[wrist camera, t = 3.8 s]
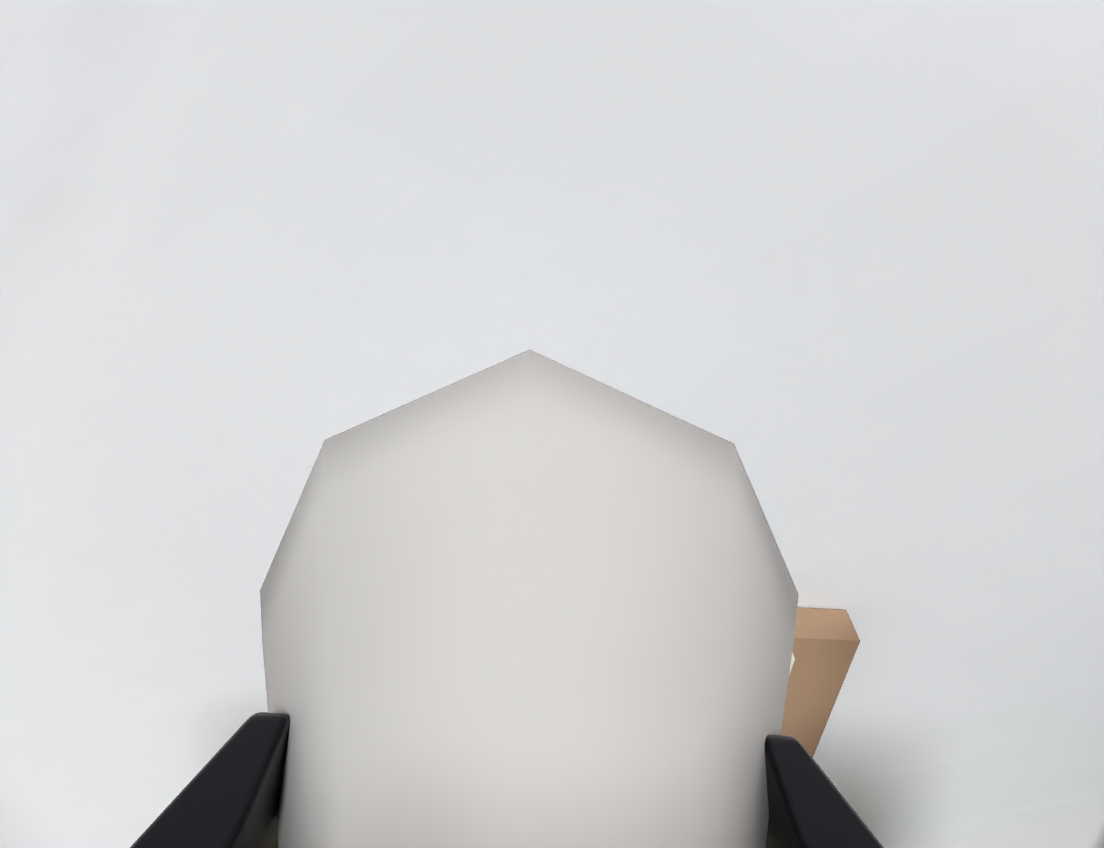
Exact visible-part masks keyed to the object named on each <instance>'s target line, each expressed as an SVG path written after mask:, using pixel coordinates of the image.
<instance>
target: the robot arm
mask: <svg viewBox="0 0 1104 848" xmlns="http://www.w3.org/2000/svg"><path fill="white" fill-rule="evenodd" d="M289 725H290V716H289V714H286V713H265V712H260V713H256V714H254V715H252V716H251V717H250V718H249V719H248V720H247V721H246V722H245V723H244V724H243V725H242V726H241V727H240V728H239V729H238V730H237V731H236V733H235V734H234V735H233V736H232V737H231V738H230V739H229V740H228V741H227V742H226V743H225V745H224V746H223V747H222V748H221V749H220V750H219V751H218V752H217V753H216V754H215V755H214V757H213V758H212V759H211V760H210V761H209V762H208V763H207V764H206V765H205V766H204V767H203V769H202V770H201V771H200V772H199V773H198V774H197V775H196V776H195V777H194V778H193V780H192V781H191V782H190V783H189V784H188V785H187V786H186V787H185V788H184V789H183V790H182V792H181V793H180V794H179V795H178V796H177V797H176V798H175V799H174V800H173V801H172V802H171V804H170V805H169V806H168V807H167V808H166V809H165V810H164V811H163V812H162V813H161V814H160V816H159V817H158V818H157V819H156V820H155V821H154V822H153V823H152V824H151V825H150V826H149V828H148V829H147V830H146V831H145V832H144V833H143V834H142V835H141V836H140V837H139V838H138V840H137V841H136V842H135V843H134V844H133V845H132V846H131V847H130V848H278V824H277V812H278V805H279V798H280V790H281V783H282V776H283V768H284V761H285V754H286V747H287V739H288V732H289ZM765 764H766V779H767V794H768V808H769V820H768V830H767V840H766V848H883V846H882V845H881V844H880V843H879V841H878V840H877V839H876V838H875V836H874V835H873V834H872V833H871V831H870V830H869V829H868V827H867V826H866V825H865V824H864V822H863V821H862V820H861V819H860V817H859V816H858V815H857V814H856V812H855V811H854V810H853V809H852V807H851V806H850V805H849V804H848V802H847V801H846V800H845V799H844V797H843V796H842V795H841V793H840V792H839V791H838V790H837V788H836V787H835V786H834V785H833V783H832V782H831V781H830V780H829V778H828V777H827V776H826V775H825V773H824V772H823V771H822V770H821V768H820V767H819V766H818V765H817V763H816V762H815V761H814V759H813V758H812V757H811V756H810V754H809V753H808V752H807V751H806V749H805V748H804V747H803V746H802V744H801V743H800V742H799V741H798V740H797V739H795V738H794V737H792V736H788V735H767V737H766V739H765Z"/></svg>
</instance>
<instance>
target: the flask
mask: <svg viewBox="0 0 1104 848" xmlns="http://www.w3.org/2000/svg"><path fill="white" fill-rule="evenodd" d="M260 597H261V622H262V644H263V655H264V667H265V679H266V690H267V702H268V713H286V714H289V716H290V725H289V732H288V739H287V747H286V754H285V761H284V768H283V776H282V783H281V790H280V798H279V805H278V812H277V824H278V848H766V840H767V830H768V820H769V808H768V794H767V779H766V764H765V739H766V737H767V735H780V734H781V727H782V721H783V714H784V707H785V700H786V693H787V686H788V679H789V672H790V665H791V658H792V651H793V643H794V633H795V623H796V613H797V603H798V592H797V590H796V588H795V585H794V583H793V581H792V578H791V576H790V574H789V571H788V569H787V567H786V564H785V562H784V560H783V557H782V555H781V553H780V550H779V548H778V546H777V543H776V541H775V539H774V536H773V534H772V532H771V529H770V527H769V525H768V522H767V520H766V518H765V515H764V513H763V511H762V508H761V506H760V503H759V501H758V499H757V496H756V494H755V492H754V489H753V487H752V485H751V482H750V480H749V478H748V475H747V473H746V471H745V468H744V466H743V464H742V461H741V459H740V457H739V454H738V452H737V450H736V447H735V445H734V444H733V443H731V442H729V441H727V440H725V439H723V438H720V437H718V436H716V435H714V434H712V433H709V432H707V431H705V430H703V429H701V428H699V427H696V426H694V425H692V424H690V423H688V422H686V421H683V420H681V419H679V418H677V417H675V416H673V415H670V414H668V413H666V412H664V411H662V410H660V409H657V408H655V407H653V406H651V405H649V404H647V403H644V402H642V401H640V400H638V399H636V398H634V397H631V396H629V395H627V394H625V393H623V392H621V391H618V390H616V389H614V388H612V387H610V386H608V385H605V384H603V383H601V382H599V381H597V380H594V379H592V378H590V377H588V376H586V375H584V374H581V373H579V372H577V371H575V370H573V369H571V368H568V367H566V366H564V365H562V364H560V363H558V362H555V361H553V360H551V359H549V358H547V357H545V356H542V355H540V354H538V353H536V352H534V351H532V350H528V351H525V352H523V353H521V354H519V355H516V356H514V357H512V358H510V359H507V360H505V361H503V362H501V363H498V364H496V365H494V366H491V367H489V368H487V369H485V370H482V371H480V372H478V373H476V374H473V375H471V376H469V377H467V378H464V379H462V380H460V381H457V382H455V383H453V384H451V385H448V386H446V387H444V388H442V389H439V390H437V391H435V392H432V393H430V394H428V395H426V396H423V397H421V398H419V399H417V400H414V401H412V402H410V403H408V404H405V405H403V406H401V407H398V408H396V409H394V410H392V411H389V412H387V413H385V414H383V415H380V416H378V417H376V418H374V419H371V420H369V421H367V422H364V423H362V424H360V425H358V426H355V427H353V428H351V429H349V430H346V431H344V432H342V433H340V434H337V435H335V436H333V437H330V438H328V439H326V440H325V441H324V443H323V445H322V448H321V450H320V452H319V455H318V457H317V459H316V462H315V464H314V466H313V469H312V471H311V473H310V476H309V478H308V480H307V483H306V485H305V487H304V490H303V492H302V494H301V497H300V499H299V501H298V504H297V506H296V508H295V511H294V513H293V515H292V517H291V520H290V522H289V524H288V527H287V529H286V531H285V534H284V536H283V538H282V541H281V543H280V545H279V548H278V550H277V552H276V555H275V557H274V559H273V562H272V564H271V566H270V569H269V571H268V573H267V576H266V578H265V580H264V583H263V585H262V587H261V590H260Z"/></svg>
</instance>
